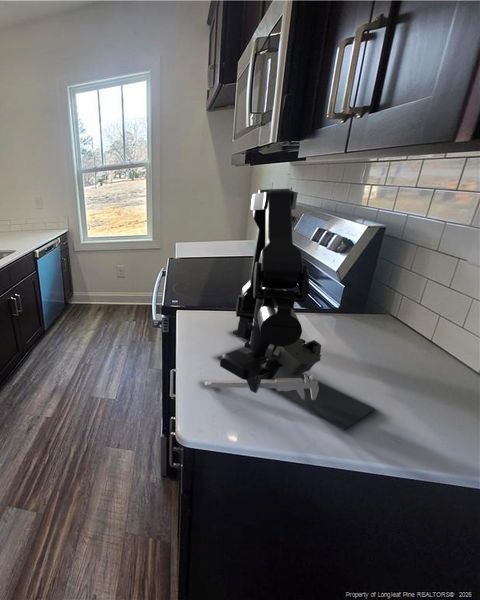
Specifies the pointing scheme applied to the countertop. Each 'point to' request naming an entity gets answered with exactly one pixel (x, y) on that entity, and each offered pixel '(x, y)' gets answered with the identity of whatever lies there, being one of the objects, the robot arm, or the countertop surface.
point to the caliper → (273, 384)
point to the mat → (325, 401)
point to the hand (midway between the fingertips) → (258, 389)
